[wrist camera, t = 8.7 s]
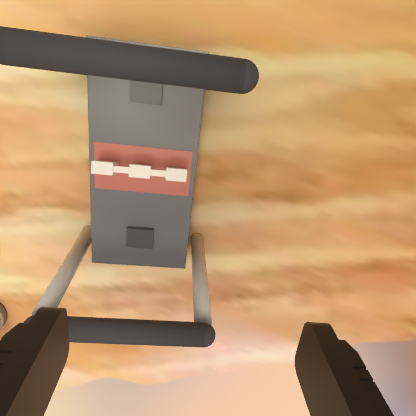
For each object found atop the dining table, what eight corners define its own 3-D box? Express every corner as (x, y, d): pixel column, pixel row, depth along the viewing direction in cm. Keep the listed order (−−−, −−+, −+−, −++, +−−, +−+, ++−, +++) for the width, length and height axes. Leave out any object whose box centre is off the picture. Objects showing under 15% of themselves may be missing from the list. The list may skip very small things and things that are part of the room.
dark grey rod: (215, 318, 29) (217, 335, 27) (212, 335, 30) (214, 353, 28) (26, 309, 28) (15, 326, 26) (28, 327, 28) (18, 345, 27)
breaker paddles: (186, 168, 35) (187, 169, 32) (185, 179, 35) (186, 182, 32) (98, 160, 34) (91, 160, 31) (98, 171, 34) (90, 173, 31)
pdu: (226, 55, 35) (254, 52, 21) (201, 248, 45) (209, 336, 31) (76, 35, 34) (-4, 17, 19) (83, 240, 43) (33, 328, 29)
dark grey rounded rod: (257, 61, 21) (264, 61, 19) (252, 94, 22) (258, 97, 20) (-10, 25, 19) (-30, 21, 17) (-5, 62, 20) (-24, 62, 18)
